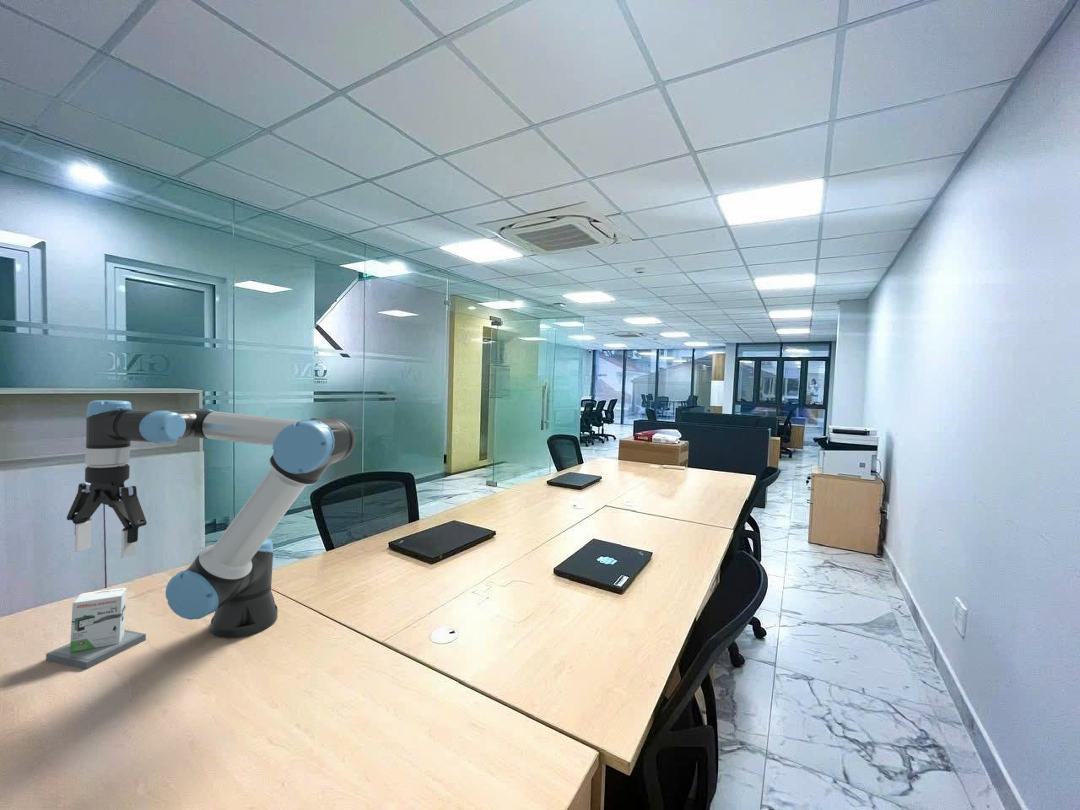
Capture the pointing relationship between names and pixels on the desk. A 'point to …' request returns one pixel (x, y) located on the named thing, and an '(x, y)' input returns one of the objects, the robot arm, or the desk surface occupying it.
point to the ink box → (98, 619)
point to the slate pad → (94, 651)
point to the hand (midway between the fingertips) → (105, 552)
